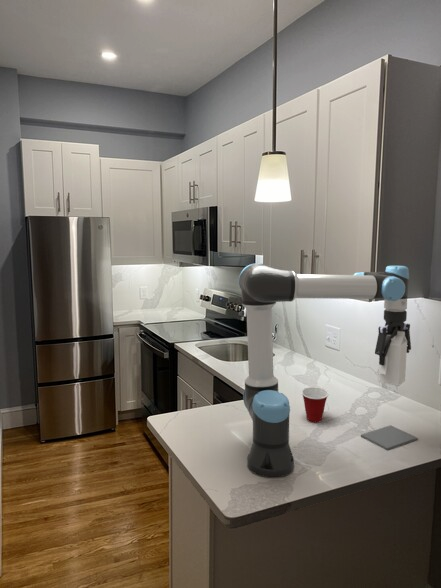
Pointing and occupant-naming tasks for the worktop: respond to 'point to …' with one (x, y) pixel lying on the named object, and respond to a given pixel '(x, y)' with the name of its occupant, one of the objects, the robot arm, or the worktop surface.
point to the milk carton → (396, 361)
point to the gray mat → (389, 437)
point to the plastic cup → (314, 402)
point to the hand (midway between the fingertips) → (392, 371)
